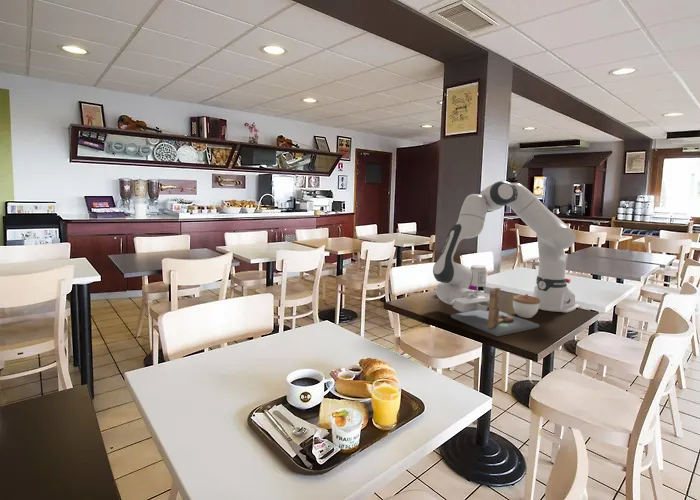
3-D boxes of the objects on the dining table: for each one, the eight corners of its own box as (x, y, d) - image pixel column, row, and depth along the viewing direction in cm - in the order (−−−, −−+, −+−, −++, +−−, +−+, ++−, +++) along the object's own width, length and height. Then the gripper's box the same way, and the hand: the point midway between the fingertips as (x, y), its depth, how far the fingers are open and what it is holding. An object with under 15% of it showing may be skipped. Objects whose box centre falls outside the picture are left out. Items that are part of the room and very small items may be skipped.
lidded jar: (543, 316, 175) (544, 295, 174) (531, 321, 168) (533, 299, 167) (518, 310, 183) (520, 290, 182) (506, 315, 176) (508, 294, 175)
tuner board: (490, 310, 183) (490, 304, 182) (538, 327, 161) (539, 320, 160) (450, 317, 172) (451, 310, 171) (497, 336, 150) (497, 328, 150)
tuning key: (499, 315, 170) (501, 281, 168) (516, 318, 166) (519, 284, 164) (480, 325, 157) (483, 289, 155) (498, 330, 152) (501, 292, 150)
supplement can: (468, 296, 207) (470, 267, 205) (468, 292, 215) (470, 264, 213) (485, 297, 205) (487, 268, 202) (484, 293, 212) (486, 265, 210)
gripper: (446, 294, 164) (471, 303, 152) (484, 289, 174) (510, 298, 161) (445, 309, 165) (469, 319, 153) (483, 304, 175) (508, 313, 162)
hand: (491, 308), depth 157 cm, fingers closed
